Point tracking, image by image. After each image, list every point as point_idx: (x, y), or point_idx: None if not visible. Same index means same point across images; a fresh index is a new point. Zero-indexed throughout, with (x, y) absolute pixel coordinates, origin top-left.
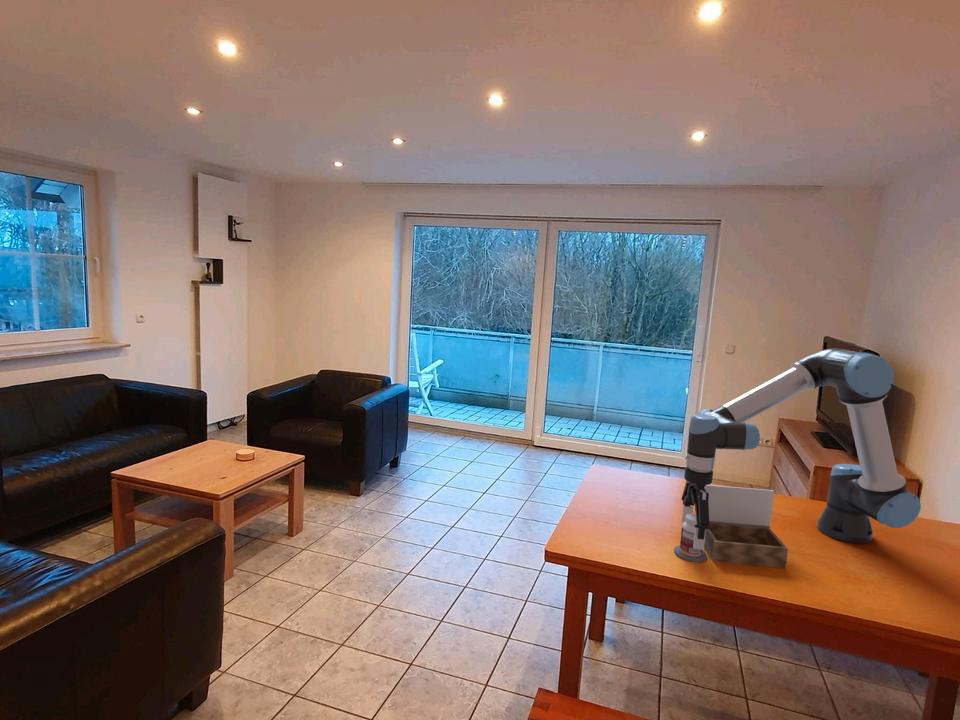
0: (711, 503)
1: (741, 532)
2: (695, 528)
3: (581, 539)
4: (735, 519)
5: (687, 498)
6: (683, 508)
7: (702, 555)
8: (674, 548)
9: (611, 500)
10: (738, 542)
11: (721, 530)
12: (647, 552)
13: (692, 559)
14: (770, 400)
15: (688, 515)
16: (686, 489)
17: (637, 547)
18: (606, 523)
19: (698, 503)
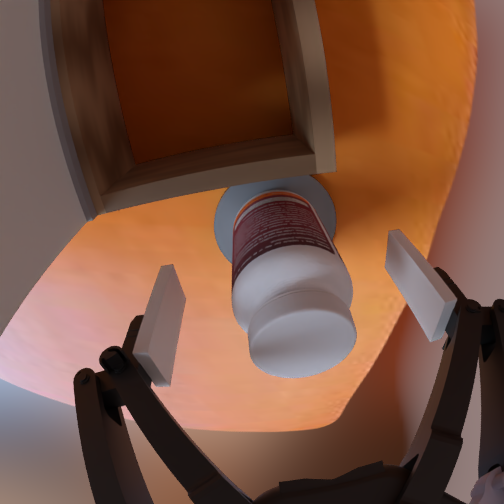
0: (5, 238)
1: (76, 19)
2: (428, 330)
3: (276, 416)
4: (28, 49)
5: (201, 450)
6: (169, 376)
7: (288, 185)
8: None
9: (52, 374)
10: (102, 32)
11: (91, 107)
12: None
13: (333, 225)
14: None
15: (283, 370)
16: (144, 487)
17: None
18: (173, 395)
19: (483, 451)
